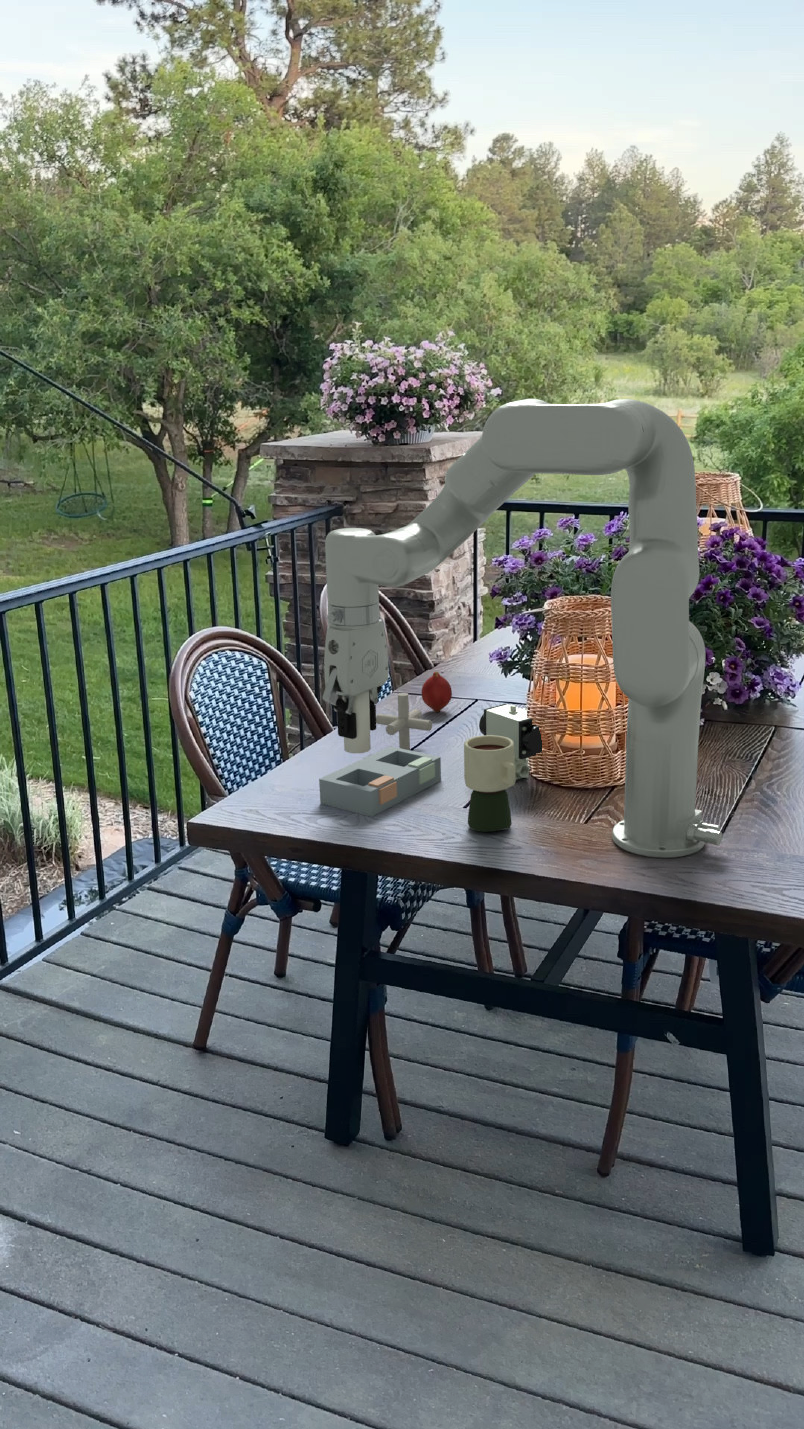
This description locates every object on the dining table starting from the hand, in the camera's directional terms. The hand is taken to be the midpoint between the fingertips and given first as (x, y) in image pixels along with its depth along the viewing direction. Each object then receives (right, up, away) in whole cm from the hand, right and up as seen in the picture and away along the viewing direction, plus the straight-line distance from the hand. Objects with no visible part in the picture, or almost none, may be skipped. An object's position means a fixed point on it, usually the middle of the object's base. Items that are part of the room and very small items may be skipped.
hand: (357, 731), depth 176 cm
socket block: (+4, -10, +7) cm, 12 cm away
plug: (0, -3, +1) cm, 3 cm away
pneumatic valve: (+25, -8, +12) cm, 29 cm away
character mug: (+19, -14, -8) cm, 25 cm away
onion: (+13, +3, +47) cm, 49 cm away
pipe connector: (+7, -4, +26) cm, 27 cm away
